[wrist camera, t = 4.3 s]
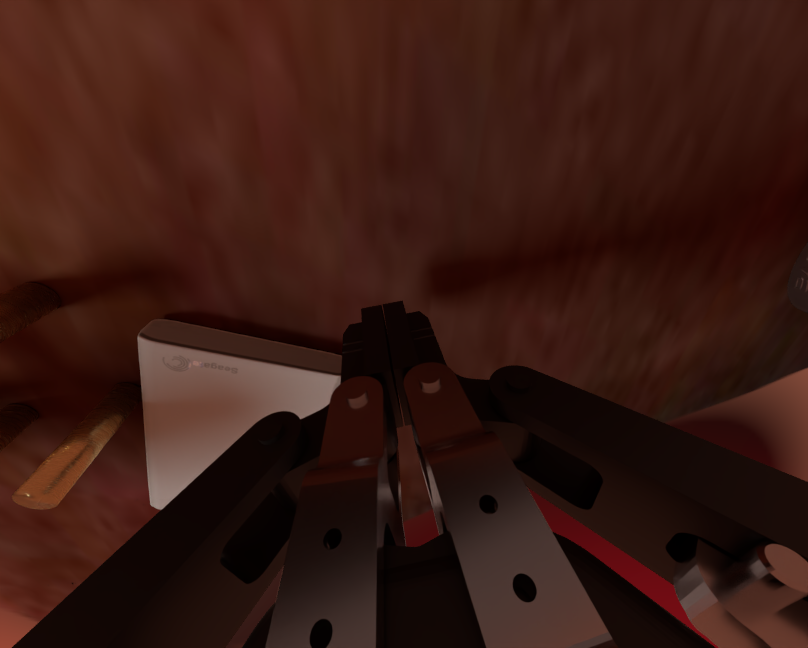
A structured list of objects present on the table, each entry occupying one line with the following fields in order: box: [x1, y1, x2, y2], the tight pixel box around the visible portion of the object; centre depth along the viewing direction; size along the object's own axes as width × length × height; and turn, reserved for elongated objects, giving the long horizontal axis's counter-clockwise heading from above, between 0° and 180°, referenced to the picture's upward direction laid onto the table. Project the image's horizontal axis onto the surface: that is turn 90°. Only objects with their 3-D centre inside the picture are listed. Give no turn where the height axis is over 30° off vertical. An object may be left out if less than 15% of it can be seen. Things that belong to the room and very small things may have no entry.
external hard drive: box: [138, 319, 342, 510], centre depth 16 cm, size 2×8×12 cm
